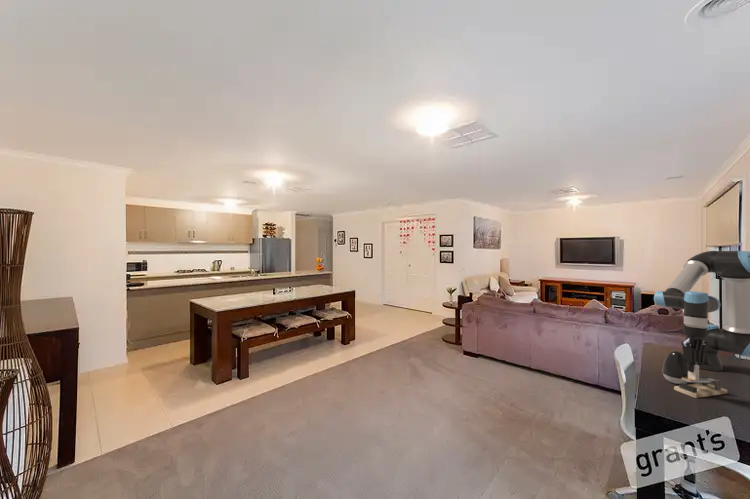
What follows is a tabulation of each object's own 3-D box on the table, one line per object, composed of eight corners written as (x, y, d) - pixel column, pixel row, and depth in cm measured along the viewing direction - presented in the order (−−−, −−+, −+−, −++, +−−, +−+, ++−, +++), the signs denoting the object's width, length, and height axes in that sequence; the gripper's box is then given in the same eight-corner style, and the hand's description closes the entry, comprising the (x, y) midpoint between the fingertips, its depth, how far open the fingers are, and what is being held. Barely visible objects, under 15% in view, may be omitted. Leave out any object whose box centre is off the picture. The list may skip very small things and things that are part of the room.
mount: (704, 385, 147) (704, 374, 147) (727, 393, 140) (727, 381, 140) (674, 389, 142) (674, 377, 142) (695, 397, 135) (696, 385, 135)
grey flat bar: (707, 380, 145) (707, 377, 145) (716, 383, 141) (717, 380, 141) (681, 379, 140) (681, 377, 140) (690, 382, 137) (690, 380, 137)
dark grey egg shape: (697, 388, 145) (698, 355, 145) (671, 385, 147) (672, 353, 147) (681, 379, 155) (681, 348, 155) (656, 377, 157) (657, 346, 157)
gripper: (695, 324, 145) (693, 374, 145) (674, 324, 142) (672, 376, 142) (716, 328, 138) (714, 381, 138) (694, 328, 135) (692, 383, 134)
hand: (693, 378), depth 140 cm, fingers closed, pressing on grey flat bar
